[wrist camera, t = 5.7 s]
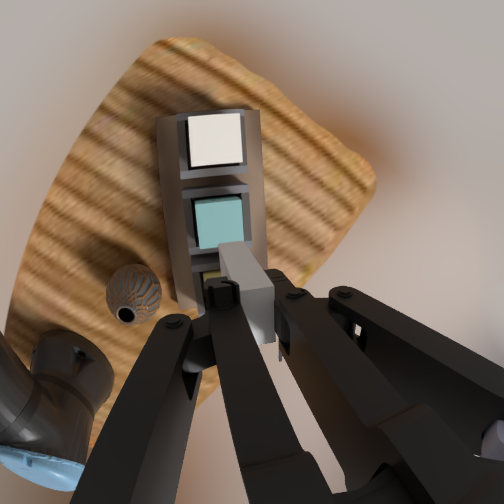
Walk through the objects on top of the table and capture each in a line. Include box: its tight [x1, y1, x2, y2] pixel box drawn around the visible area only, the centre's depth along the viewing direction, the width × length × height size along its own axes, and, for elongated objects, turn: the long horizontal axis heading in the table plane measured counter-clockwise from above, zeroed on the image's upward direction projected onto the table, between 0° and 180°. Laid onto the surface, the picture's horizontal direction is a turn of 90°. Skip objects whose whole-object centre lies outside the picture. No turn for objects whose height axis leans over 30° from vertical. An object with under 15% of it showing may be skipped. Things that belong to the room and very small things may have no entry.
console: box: [156, 109, 268, 317], centre depth 31 cm, size 12×24×6 cm, turn 2°
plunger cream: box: [188, 113, 243, 167], centre depth 24 cm, size 4×4×5 cm
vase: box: [106, 264, 162, 325], centre depth 30 cm, size 7×7×9 cm
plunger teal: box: [195, 194, 244, 249], centre depth 29 cm, size 4×4×5 cm
